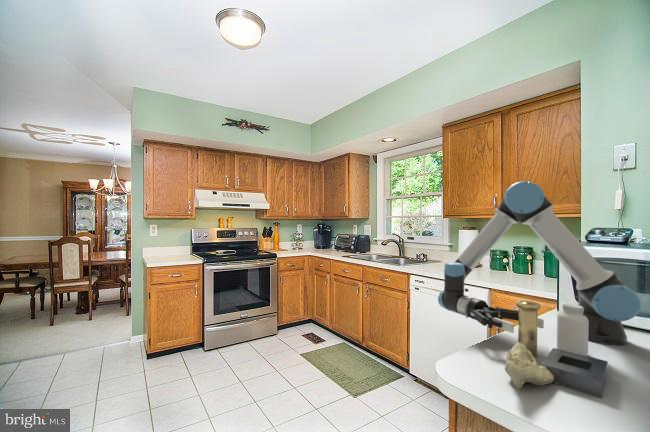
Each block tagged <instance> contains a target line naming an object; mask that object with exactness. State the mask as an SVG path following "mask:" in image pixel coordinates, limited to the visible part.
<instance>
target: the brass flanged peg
mask: <svg viewBox="0 0 650 432" xmlns="http://www.w3.org/2000/svg"><path fill="white" fill-rule="evenodd" d="M515 305H516V306H517V308H518V311H519V320H517V321H518V323H517V324H518V327H517V328H518V330H517V332H518V333H517V334H518V335H517V337H518V338H517V343H518V342H519V343H521V344H523V345H524V346H525V347H526V349H527V350H529V351H530V352H531V354H532V355H533V357H534V358H535V359H536V358H537V357H538V327H537V319H538V312H539V311H538V310H541V304H540V303H539V302H535V301H530V300H516V301H515Z"/></svg>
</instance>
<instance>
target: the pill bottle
mask: <svg viewBox="0 0 650 432" xmlns="http://www.w3.org/2000/svg"><path fill="white" fill-rule="evenodd" d="M561 310H562V311H560V312H558V313H557V318H556V349H560V350H564V351H568V352H572V353H576V354H580V355H584V356H588V355H589V340H588V329H589V321H588V318H587V317H586V316H584V315H582V314H583V312H584V308H583V307H582V306H579V304H573V303H563V304H562V309H561Z"/></svg>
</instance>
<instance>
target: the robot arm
mask: <svg viewBox="0 0 650 432" xmlns="http://www.w3.org/2000/svg"><path fill="white" fill-rule="evenodd" d="M553 208H554V205H553V203H552V202H551V201H550V200H549V199H548V198H547V196H546V195H545V192H544V191H543V189H542V187H540V186H539V185H538V184H537V183H535V182H533V181H527V180H523V181H518V182H515V183H514V184H511V185H510V186H509V187H507V189H506V191H505V192H504V196H503V199H502V200H501V202H500V203H499V205H498V206H497V207H496V208H495V213H494V215H493V216H492V217H491V218H490V220H488V222H487V223H486V224H485V225H484V227H483V228H481V230H480V231H479V233H478V234H477V235H476V236H475V237H474V239H473V240H472V241H471V242H470V243H469V245H468V246H467V247H466V248H465V250H463V251H462V253H461V254H460V255H459V257H458V258H457V259H456V260H455V261H452V262H450V261H449V262H446V263H444V269H443V272H444V273H443V276H444V283H443V284H444V287H443V288H444V289H443V290H441V291H440V292H439V295H438V296H437V301H438V305H439V306H440V307H441V308H443V309H446V310H447V311H449V312H453V313H456V314H459V315H462V316H465V318H466V319H467V318H469V319H472V320H476V321H477V322H478V323H479V324H481V325H482V326H484V327H485V326H487V328H489V329H493V327H495V328H497V329H500V330H503V331H505V332H509V333H511V334H514V333H515V332H514V331H515V330H514V329H515V327H514V326H515V325H514V323H512V322H510V321H507V320H512V321H518V320H519V310H512V309H507V308H503V307H499V306H496V307H494V306H489V305H488V303H487V302H486V301H485V300H482V299H479V298H476V297H473V296H469V295H465V280H466V279H467V278H468V276H469V275H470V273H471V272H473V270H474V269H475V268H476V267H477V266H478V264H479V263H481V261H482V260H483V259H484V258H485V257H486V255H487V254H488V253H489V252H490V251H491V249H492V248H494V246H495V245H496V244H497V243H498V242H499V241H500V240H501V238H502V237H503V236H504V235H505V234H506V233H507V231H508V230H509V229H510V228H511V227H512V225H514V224H518V223H519V222H520V224H521V225H527V226H529V227H530V229H532V231H533V232H534V233H535V235H536V236H537V237H538V238H539V239H540V240H541V241H542V242H543V244H544V245H545V246H546V247H547V248H548V249H549V251H550V252H551V253H552V254H553V255H554V256H555V258H556V259H557V260H558V261H559V263H560V264H561V265H562V266H563V267H564V268H565V270H567V272H568V273H569V274H570V275H571V277H573V279H574V280H575V281H576V285H575V289H576V290H577V291H578V305H579V306H582V307H583V308H584V312H583V314H582V315H584V316H586V317H587V318H588V321H589V329H588V341H592V342H595V343H600V344H606V345H617V346H618V345H619V346H621V345H627V344H628V336H627V334H626V331H625V328H624V325H623V323H622V322H624V321H630V320H631V319H633V318H635V317H636V316H637V315H638V314H639V313H640V311H641V306H642V302H641V299H640V298H639V296H638V294H637V293H636V292H635V291H634V290H633V289H631V288H630V287H628V286H627V285H625V284H624V282H623V281H622V280H621V278H620V276H617V275H616V274H615V272H614V271H612V270H608V269H606V268H604V267H602V266H601V264H600V263H599V262H598V261H597V260H596V259H595V258H594V256H592V254H591V253H590V252H589V251H588V250H587V249H586V248H585V247H584V245H583V244H582V243H581V242H580V241H579V240H578V239H577V237H576V236H575V235H574V234H573V233H572V232H571V231H570V230H569V229H568V228H567V226H566V225H565V224H564V222H562V221H561V220H560V218H559V217H558V216H557V215H556V214H555V213H554V211H553V210H554V209H553ZM503 319H504V320H503ZM505 319H506V320H505ZM544 322H545V320H544V319H542V318H538V319H537V328H540V329H544V328H545V327H544V326H545V325H544Z"/></svg>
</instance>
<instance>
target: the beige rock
mask: <svg viewBox="0 0 650 432" xmlns="http://www.w3.org/2000/svg"><path fill="white" fill-rule="evenodd" d="M504 371H505V373H506V374H507V375H508V377H509V378H510V379H511V381H512V383H513V385H514V386H515V387H516V389H518V390H519V389H521V388H522V387H523V385H524V384H525V383H530V384H532V385H535V386H539V387H541V386H544V385H550V384H551V383H552V382H553V381H554V376H553V374H552V373H551V372H550V371H549V370H548V369H547V368H546V367H543V366H541V365H539V364H538V362H537V361H536V357H535V358H534V357H533V355H532V354H531V352H530V351H529V350H527V349H526V347H525V346H524V345H523V344H521V343H519V342H518V341H517V342H516V343H515V344H514V345H513V346H512V348H509V351H507V352H506V357H505V367H504ZM552 384H553V383H552Z"/></svg>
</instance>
